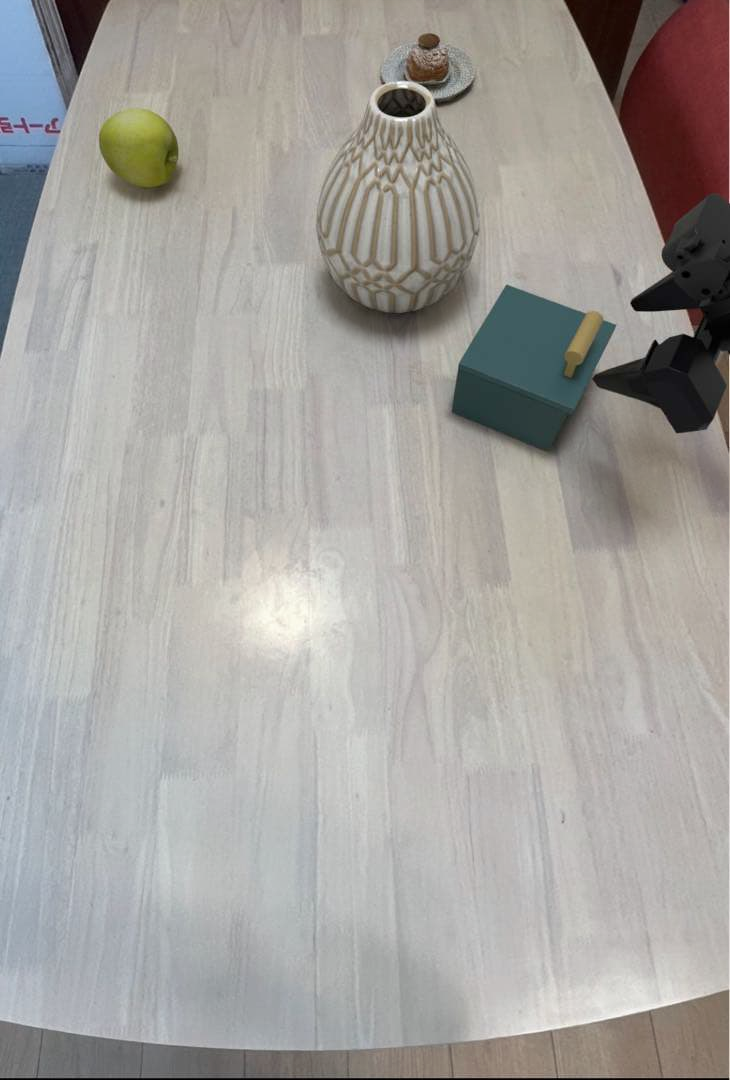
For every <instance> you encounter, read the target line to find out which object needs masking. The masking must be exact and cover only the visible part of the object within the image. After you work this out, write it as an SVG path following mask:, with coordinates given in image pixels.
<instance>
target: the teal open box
mask: <svg viewBox="0 0 730 1080" xmlns="http://www.w3.org/2000/svg"><path fill="white" fill-rule="evenodd" d="M454 385H455V386H454V392H453V400H452V405H451V412H452V413H453V414H456V415H459V416H460V417H463V418H466V419H467V420H471V421H472V422H475V423H477V424H480V425H483V426H485V427H487V428H490V429H492V430H495V431H497V432H499V433H502V434H504V435H507V436H509V437H511V438H514V439H515V440H518V441H521V442H524V443H526V444H528V445H530V446H533V447H536V448H538V449H541V450H543V451H545V452H547V453H548V452H549V451H550V449H551V448H552V446H553V443H554V442H555V440H556V438H557V435H558V434H559V431H560V430H561V428H562V426H563V424H564V422H565V420H566V418H567V416H568V414H569V413H567V412H564V411H562V410H559V409H557V408H554V407H552V406H549V405H547V404H544V403H542V402H539V401H537V400H534V399H532V398H529V397H527V396H524V395H522V394H519V393H517V392H514V391H512V390H509V389H507V388H504V387H502V386H499V385H497V384H495V383H492V382H490V381H487V380H485V379H482V378H480V377H477V376H475V375H472V374H470V373H467V372H465V371H462V370H460V369H458V368H457V371H456V379H455V384H454Z"/></svg>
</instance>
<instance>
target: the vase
mask: <svg viewBox="0 0 730 1080" xmlns="http://www.w3.org/2000/svg"><path fill="white" fill-rule="evenodd" d="M480 217H481V216H480V208H479V199H478V194H477V189H476V186H475V182H474V177H473V175H472V171H471V170H470V167H469V165H468V163H467V161H466V159H465V157H464V156H463V154H462V152H461V151H460V148H459V147H458V145H457V144H456V142H455V141H454V139H452V137H451V136H450V134H449V133H448V132H447V131H446V129H445V128H444V127H443V125H442V122H441V120H440V116H439V113H438V109H437V105H436V103H435V101H434V98H433V96H432V94H431V93H430V91H429V90H428V89H426V88H425V87H423V86H422V85H420V84H417V83H414V82H409V81H394V82H390V83H386V84H385V83H384V84H382V85H380V86H378V87H377V88H375V90H374V91H372V93H371V95H370V97H369V99H368V102H367V104H366V108H365V112H364V114H363V117H362V120H361V122H360V124H359V125H358V126H357V127H356V129H355V130H354V131H353V132H352V133H351V134H350V136H348V138H347V139H346V140H345V142H344V143H343V144H342V146H341V148H340V149H339V151H338V152H337V154H336V155H335V156H334V158H333V160H332V162H331V164H330V166H329V168H328V170H327V173H326V175H325V178H324V180H323V183H322V186H321V191H320V194H319V198H318V203H317V210H316V219H315V221H316V222H315V227H316V228H315V229H316V238H317V243H318V248H319V250H320V253H321V257H322V259H323V262H324V265H325V266H326V268H327V270H328V273H329V274H330V276H331V277H332V279H333V280H334V281H335V283H336V284H337V285H338V287H339V288H340V289H341V290H342V291H343V292H344V293H346V295H347V296H348V297H350V298H351V299H352V300H354V301H355V302H357V303H359V304H361V305H362V306H365V307H367V308H369V309H372V310H375V311H379V312H383V313H390V314H397V313H398V314H400V313H409V312H414V311H418V310H422V309H423V308H427V307H429V306H431V305H433V304H435V303H436V302H438V301H439V300H441V299H443V298H444V296H446V295H447V294H448V293H449V292H450V291H452V290H453V288H454V287H455V286H456V285H457V284H458V282H459V281H460V280H461V278H462V277H463V276H464V274H465V273H466V271H467V269H468V267H469V265H470V263H471V261H472V258H473V256H474V254H475V250H476V248H477V247H476V246H477V244H478V239H479V233H480V221H481V220H480Z"/></svg>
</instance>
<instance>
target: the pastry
mask: <svg viewBox="0 0 730 1080" xmlns="http://www.w3.org/2000/svg"><path fill="white" fill-rule="evenodd" d="M475 75H476V65H475V62H474V60H473V58H472V57H471V56H469V54H468V53H467V52H466V51H464V49H461V48H458V47H457V46H455V45H453V44H450V43H446V42H443V41H441V39H440V37H439V35H438V34H435V33H432V32H430V33H429V32H428V33H423V34H421V35H420V36H418V39H417V41H415V42H409V43H406V44H402V45H400V46H398V47H395V48H394V49H393V50H392V51H390V53H388V54H387V55H386V56H385V57H384V59H383V61H382V63H381V65H380V76H381V79H382V81H383V83H384V84H386V83H390V82H394V81H409V82H414V83H417V84H420V85H422V86H423V87H425V88H426V89H428V90H429V91H430V93H431V94H432V96H433V98H434V101H435V104H436V103H437V104H442V103H446V102H447V103H448V102H451V101H452V100H453V99H455V98H456V97H458V96H460V95H461V93H463V92H465V91H466V89H467V88H469V86H470V84H472V82H473V81H474V79H475Z"/></svg>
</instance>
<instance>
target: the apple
mask: <svg viewBox="0 0 730 1080" xmlns="http://www.w3.org/2000/svg"><path fill="white" fill-rule="evenodd" d="M98 146H99V151H100V153H101V155H102V159H103V161H104V162H105V164H106V165H107V166H108V168H109V169H110V170H111V172H113V173H114V174H115V175H116V176H118V177H119V178H121V179H122V180H124V181H125V182H127V183H129V184H132V185H134V186H137V187H140V188H156V187H160V186H163V185H165V184H167V183H168V182H169V181H170V180H171V179H172V177H173V175H174V173H175V170H176V167H177V164H178V161H179V156H180V155H179V154H180V153H179V151H180V150H179V142H178V138H177V136H176V134H175V132H174V130H173V128H172V127H171V125H170V124H169V123H168V121H166V120H165V118H163V117H162V116H161V115H159V114H157V113H156V112H154V111H152V110H149V109H146V108H142V107H141V108H140V107H139V108H138V107H137V108H136V107H135V108H129V109H125V110H122V111H119V112H117V113H116V114H114V115H112V116H109V118H108V119H106V121H105V122H104V123H103V125H102V126H101V128H100V129H99V134H98Z"/></svg>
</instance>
